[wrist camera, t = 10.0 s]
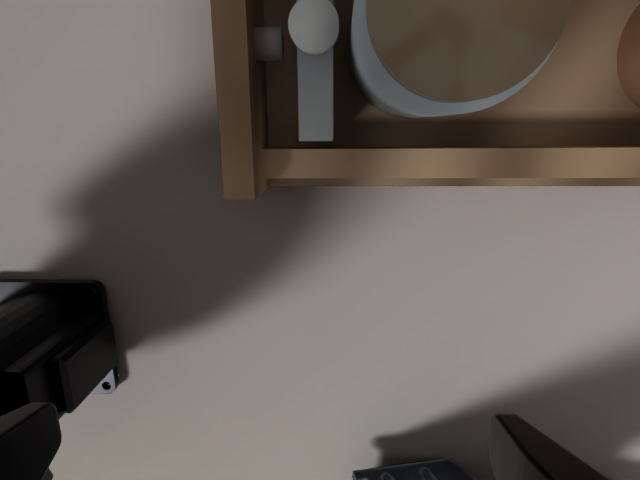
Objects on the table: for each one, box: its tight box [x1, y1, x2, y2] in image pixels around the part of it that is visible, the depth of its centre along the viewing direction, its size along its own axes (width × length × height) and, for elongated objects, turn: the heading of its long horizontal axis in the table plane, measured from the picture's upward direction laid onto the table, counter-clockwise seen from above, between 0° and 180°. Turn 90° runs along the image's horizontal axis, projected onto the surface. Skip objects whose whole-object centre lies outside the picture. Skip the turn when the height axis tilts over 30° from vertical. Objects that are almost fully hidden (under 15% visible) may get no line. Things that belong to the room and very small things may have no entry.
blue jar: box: [348, 0, 573, 119], centre depth 14 cm, size 6×6×8 cm
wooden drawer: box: [210, 0, 640, 200], centre depth 16 cm, size 22×12×4 cm, turn 90°
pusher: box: [288, 0, 339, 141], centre depth 16 cm, size 2×7×5 cm, turn 0°
